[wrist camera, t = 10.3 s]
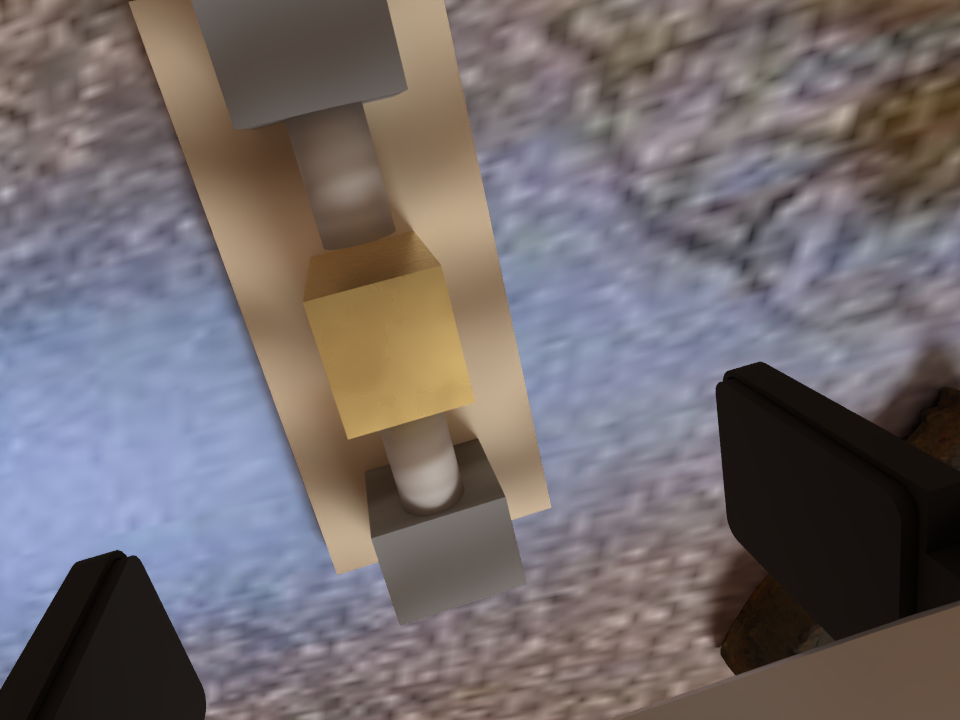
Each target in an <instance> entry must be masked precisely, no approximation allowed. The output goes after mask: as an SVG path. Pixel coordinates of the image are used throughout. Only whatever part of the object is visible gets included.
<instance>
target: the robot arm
mask: <svg viewBox="0 0 960 720" xmlns="http://www.w3.org/2000/svg"><path fill="white" fill-rule="evenodd" d="M716 403H717V414H718V425H719V436H720V447H721V458H722V469H723V480H724V491H725V502H726V513H727V520H728V524H729V527H730V529H731V531H732V533H733V535H734V537H735V538H736V539H737V540H738V542H739V543H740V544H741V545H742V546H743V547H744V548H745V549H746V550H747V551H748V552H749V553H750V554H751V555H752V556H753V557H754V558H755V559H756V560H757V561H758V562H759V563H760V564H761V565H762V566H763V567H764V568H765V569H766V570H767V571H768V572H769V573H770V575H771V576H772V577H773V578H774V579H775V580H776V581H777V582H778V583H779V584H780V585H781V586H782V587H783V588H784V589H785V590H786V591H787V592H788V593H789V594H790V595H791V596H792V597H793V598H794V599H795V600H796V601H797V602H798V603H799V604H800V605H801V606H802V607H803V609H804V610H805V611H806V612H807V613H808V614H809V615H810V616H811V617H812V618H813V619H814V620H815V621H816V622H817V623H818V624H819V625H820V626H821V627H822V628H823V629H824V630H825V631H826V632H827V633H828V634H829V635H830V636H831V637H832V638H833V639H834V640H835V641H834V642H832V643H829V644H826V645H823V646H820V647H817V648H814V649H811V650H808V651H805V652H802V653H800V654H797V655H794V656H791V657H788V658H785V659H782V660H779V661H776V662H773V663H771V664H768V665H765V666H762V667H759V668H756V669H753V670H750V671H747V672H744V673H741V674H739V675H736V676H733V677H730V678H727V679H724V680H721V681H718V682H715V683H712V684H709V685H707V686H704V687H701V688H698V689H695V690H692V691H689V692H686V693H683V694H680V695H678V696H675V697H672V698H669V699H666V700H663V701H660V702H657V703H654V704H651V705H649V706H646V707H643V708H640V709H637V710H634V711H631V712H629V713H626V714H623V715H620V716H617V717H614V718H611V719H609V720H960V471H958V470H956V469H955V468H953V467H951V466H949V465H947V464H946V463H944V462H942V461H940V460H938V459H937V458H935V457H933V456H931V455H929V454H928V453H926V452H924V451H922V450H920V449H919V448H917V447H915V446H913V445H911V444H910V443H908V442H906V441H904V440H902V439H901V438H899V437H897V436H895V435H893V434H892V433H890V432H888V431H886V430H884V429H883V428H881V427H879V426H877V425H875V424H874V423H872V422H870V421H868V420H866V419H865V418H863V417H861V416H859V415H857V414H856V413H854V412H852V411H850V410H848V409H847V408H845V407H843V406H841V405H839V404H838V403H836V402H834V401H832V400H830V399H829V398H827V397H825V396H823V395H821V394H820V393H818V392H816V391H814V390H812V389H811V388H809V387H807V386H805V385H803V384H802V383H800V382H798V381H796V380H794V379H793V378H791V377H789V376H787V375H785V374H784V373H782V372H780V371H778V370H776V369H775V368H773V367H771V366H769V365H767V364H766V363H763V362H757V363H753V364H750V365H746V366H743V367H740V368H736V369H733V370H729V371H727V372H726V373H725V374H724V378H723V382H719V383H718V384H717V386H716ZM205 713H206V699H205V693H204V689H203V687H202V684H201V682H200V680H199V678H198V676H197V674H196V672H195V670H194V668H193V666H192V664H191V662H190V660H189V658H188V656H187V654H186V652H185V650H184V648H183V646H182V644H181V641H180V639H179V637H178V635H177V633H176V631H175V629H174V627H173V625H172V623H171V621H170V619H169V617H168V615H167V613H166V611H165V609H164V607H163V605H162V603H161V601H160V599H159V597H158V595H157V592H156V590H155V588H154V586H153V584H152V582H151V580H150V578H149V576H148V574H147V572H146V570H145V568H144V566H143V564H142V562H141V561H140V559H139V558H138V557H137V556H134V555H133V556H129V557H127V556H126V555H125V554H124V553H123V552H122V551H119V550H116V551H112V552H109V553H105V554H102V555H99V556H95V557H92V558H88V559H85V560H82V561H78V562H76V563H75V564H74V565H73V566H72V568H71V570H70V571H69V573H68V575H67V576H66V578H65V580H64V582H63V583H62V585H61V587H60V588H59V590H58V592H57V594H56V595H55V597H54V599H53V600H52V602H51V604H50V606H49V607H48V609H47V611H46V612H45V614H44V616H43V618H42V619H41V621H40V623H39V624H38V626H37V628H36V630H35V631H34V633H33V635H32V636H31V638H30V640H29V642H28V643H27V645H26V647H25V648H24V650H23V652H22V654H21V655H20V657H19V659H18V660H17V662H16V664H15V665H14V667H13V669H12V671H11V672H10V674H9V676H8V677H7V679H6V681H5V683H4V684H3V686H2V688H1V689H0V720H204V718H205Z"/></svg>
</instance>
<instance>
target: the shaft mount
mask: <svg viewBox="0 0 960 720" xmlns="http://www.w3.org/2000/svg"><path fill="white" fill-rule="evenodd" d="M129 5H130V8H131V10H132V13H133V16H134V19H135V21H136V24H137V27H138V30H139V32H140V35H141V38H142V41H143V43H144V46H145V49H146V52H147V54H148V57H149V60H150V63H151V65H152V68H153V71H154V73H155V76H156V79H157V82H158V84H159V87H160V90H161V93H162V95H163V98H164V101H165V104H166V106H167V109H168V112H169V115H170V117H171V120H172V123H173V126H174V128H175V131H176V134H177V137H178V139H179V142H180V145H181V148H182V150H183V153H184V156H185V158H186V161H187V164H188V167H189V169H190V172H191V175H192V178H193V180H194V183H195V186H196V189H197V191H198V194H199V197H200V200H201V202H202V205H203V208H204V211H205V213H206V216H207V219H208V222H209V224H210V227H211V230H212V232H213V235H214V238H215V241H216V243H217V246H218V249H219V252H220V254H221V257H222V260H223V263H224V265H225V268H226V271H227V274H228V276H229V279H230V282H231V285H232V287H233V290H234V293H235V296H236V298H237V301H238V304H239V306H240V309H241V312H242V315H243V317H244V320H245V323H246V326H247V328H248V331H249V334H250V337H251V339H252V342H253V345H254V348H255V350H256V353H257V356H258V359H259V361H260V364H261V367H262V370H263V372H264V375H265V378H266V381H267V383H268V386H269V389H270V391H271V394H272V397H273V400H274V402H275V405H276V408H277V411H278V413H279V416H280V419H281V422H282V424H283V427H284V430H285V433H286V435H287V438H288V441H289V444H290V446H291V449H292V452H293V455H294V457H295V460H296V463H297V465H298V468H299V471H300V474H301V476H302V479H303V482H304V485H305V487H306V490H307V493H308V496H309V498H310V501H311V504H312V507H313V509H314V512H315V515H316V518H317V520H318V523H319V526H320V529H321V531H322V534H323V537H324V539H325V542H326V545H327V548H328V550H329V553H330V556H331V559H332V561H333V564H334V567H335V570H336V572H337V575H339V574H342V573H345V572H348V571H351V570H355V569H358V568H361V567H364V566H367V565H370V564H374V563H377V562H379V564H380V567H381V570H382V573H383V576H384V579H385V582H386V585H387V588H388V591H389V594H390V597H391V600H392V603H393V606H394V609H395V612H396V615H397V618H398V621H399V624H400V625H403V624H406V623H410V622H413V621H416V620H419V619H422V618H425V617H428V616H431V615H434V614H437V613H440V612H443V611H446V610H449V609H452V608H455V607H458V606H462V605H465V604H468V603H471V602H474V601H477V600H480V599H483V598H486V597H489V596H492V595H495V594H498V593H501V592H504V591H507V590H510V589H513V588H517V587H520V586H523V585H526V584H527V583H526V579H525V575H524V571H523V567H522V563H521V558H520V554H519V550H518V546H517V542H516V537H515V533H514V529H513V525H512V521H511V520H514V519H517V518H520V517H523V516H526V515H529V514H533V513H536V512H539V511H542V510H545V509H549V508H551V504H550V499H549V495H548V490H547V485H546V481H545V476H544V471H543V466H542V462H541V457H540V452H539V448H538V443H537V438H536V433H535V429H534V424H533V419H532V415H531V410H530V405H529V400H528V396H527V391H526V386H525V382H524V377H523V372H522V367H521V363H520V358H519V353H518V348H517V344H516V339H515V334H514V330H513V325H512V320H511V315H510V311H509V306H508V301H507V297H506V292H505V287H504V282H503V278H502V273H501V268H500V264H499V259H498V254H497V249H496V245H495V240H494V235H493V231H492V226H491V221H490V216H489V212H488V207H487V202H486V198H485V193H484V188H483V183H482V179H481V174H480V169H479V165H478V160H477V155H476V150H475V146H474V141H473V136H472V132H471V127H470V122H469V117H468V113H467V108H466V103H465V98H464V94H463V89H462V84H461V80H460V75H459V70H458V65H457V61H456V56H455V51H454V47H453V42H452V37H451V32H450V28H449V23H448V18H447V14H446V9H445V4H444V0H135V1H130V2H129ZM410 231H414V232H415V233H416V234H417V235H418V237H419V238H420V239H421V240H422V242H423V243H424V244H425V245H426V247H427V248H428V249H429V250H430V252H431V253H432V254H433V255H434V257H435V258H436V259H437V260H438V262H439V263H440V264H441V266H442V270H443V274H444V278H445V282H446V286H447V290H448V294H449V298H450V302H451V306H452V310H453V314H454V318H455V322H456V327H457V331H458V335H459V339H460V343H461V347H462V351H463V355H464V359H465V363H466V367H467V371H468V375H469V379H470V384H471V388H472V392H473V396H474V400H475V403H472V404H468V405H465V406H461V407H458V408H455V409H451V410H448V411H444V412H441V413H438V414H434V415H431V416H427V417H424V418H420V419H417V420H414V421H410V422H407V423H403V424H400V425H396V426H393V427H390V428H386V429H383V430H379V431H376V432H373V433H369V434H366V435H362V436H359V437H355V438H352V439H349V440H348V438H347V435H346V432H345V429H344V426H343V423H342V420H341V417H340V414H339V411H338V408H337V405H336V402H335V399H334V396H333V393H332V390H331V387H330V384H329V381H328V378H327V375H326V372H325V369H324V365H323V362H322V359H321V356H320V353H319V350H318V347H317V344H316V341H315V338H314V335H313V332H312V329H311V326H310V323H309V320H308V317H307V314H306V311H305V308H304V305H303V297H304V291H305V285H306V279H307V273H308V267H309V261H310V257H314V256H318V255H321V254H325V253H329V252H333V251H337V250H341V249H345V248H349V247H354V246H358V245H362V244H366V243H369V242H373V241H376V240H379V239H383V238H387V237H391V236H395V235H399V234H403V233H406V232H410Z"/></svg>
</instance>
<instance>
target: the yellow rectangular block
mask: <svg viewBox="0 0 960 720" xmlns="http://www.w3.org/2000/svg"><path fill="white" fill-rule="evenodd" d="M303 305H304V308H305V311H306V314H307V317H308V320H309V323H310V326H311V329H312V332H313V335H314V338H315V341H316V344H317V347H318V350H319V353H320V356H321V359H322V362H323V365H324V369H325V372H326V375H327V378H328V381H329V384H330V387H331V390H332V393H333V396H334V399H335V402H336V405H337V408H338V411H339V414H340V417H341V420H342V423H343V426H344V429H345V432H346V435H347V438H348V440H349V439H352V438H355V437H359V436H362V435H366V434H369V433H373V432H376V431H379V430H383V429H386V428H390V427H393V426H396V425H400V424H403V423H407V422H410V421H414V420H417V419H420V418H424V417H427V416H431V415H434V414H438V413H441V412H444V411H448V410H451V409H455V408H458V407H461V406H465V405H468V404H472V403H475V400H474V396H473V392H472V388H471V384H470V379H469V375H468V371H467V367H466V363H465V359H464V355H463V351H462V347H461V343H460V339H459V335H458V331H457V327H456V322H455V318H454V314H453V310H452V306H451V302H450V298H449V294H448V290H447V286H446V282H445V278H444V274H443V270H442V266H441V264H440V263H439V262H438V260H437V259H436V258H435V257H434V255H433V254H432V253H431V252H430V250H429V249H428V248H427V247H426V245H425V244H424V243H423V242H422V240H421V239H420V238H419V237H418V235H417V234H416V233H415V232H414V231H410V232H406V233H403V234H399V235H395V236H391V237H387V238H383V239H379V240H376V241H373V242H369V243H366V244H362V245H358V246H354V247H349V248H345V249H341V250H337V251H333V252H329V253H325V254H321V255H318V256H314V257H310V261H309V267H308V273H307V279H306V285H305V291H304V297H303Z"/></svg>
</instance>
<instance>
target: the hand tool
mask: <svg viewBox="0 0 960 720" xmlns="http://www.w3.org/2000/svg"><path fill="white" fill-rule="evenodd" d="M921 421H922V422H921V423H920V425H919V426H918V427H917V429H916V430H915V431H914V432H913V433H912V434H911V435H910V436H909V437H908V439H907V440H906V442H908V443H910V444H911V445H913V446H915V447H917V448H919V449H920V450H922V451H924V452H926V453H928V454H929V455H931V456H933V457H935V458H937V459H938V460H940V461H942V462H944V463H946V464H947V465H949V466H951V467H953V468H955V469H956V470H958V471H960V390H957V389H953V388H948V387H943V388H941V390H940V399H939V402H938V404H937V406H936V407H930V408H927V409H925V410H922V411H921ZM834 641H835V640H834V639H833V638H832V637H831V636H830V635H829V634H828V633H827V632H826V631H825V630H824V629H823V628H822V627H821V626H820V625H819V624H818V623H817V622H816V621H815V620H814V619H813V618H812V617H811V616H810V615H809V614H808V613H807V612H806V611H805V610H804V609H803V607H802V606H801V605H800V604H799V603H798V602H797V601H796V600H795V599H794V598H793V597H792V596H791V595H790V594H789V593H788V592H787V591H786V590H785V589H784V588H783V587H782V586H781V585H780V584H779V583H778V582H777V581H776V580H775V579H774V578H773V577H772V576H771V575H770V573H769V574H768V575H767V576H766V577H765V579H764V580H763V581H762V582H761V583H760V585H759V586H758V587H757V589H756V590H755V591H754V592H753V594H752V595H751V597H750V598H749V600H748V601H747V603H746V604H745V606H744V607H743V609H742V610H741V612H740V614H739V615H738V617H737V619H736V620H735V622H734V624H733V626H732V628H731V629H730V631H729V633H728V635H727V637H726V640H725V642H724V643H723V645H722V647H721V656H722V658H723V659H724V661H725V662H726V664H727V665H728V667H729V668H730V669H731V671H732V672H733V673H734V674H735V675H739V674H741V673H744V672H747V671H750V670H753V669H756V668H759V667H762V666H765V665H768V664H771V663H773V662H776V661H779V660H782V659H785V658H788V657H791V656H794V655H797V654H800V653H802V652H805V651H808V650H811V649H814V648H817V647H820V646H823V645H826V644H829V643H832V642H834Z"/></svg>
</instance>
